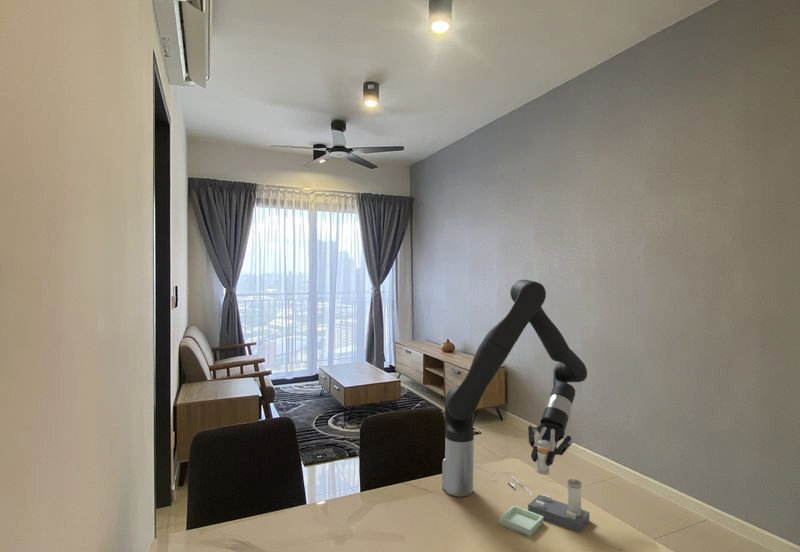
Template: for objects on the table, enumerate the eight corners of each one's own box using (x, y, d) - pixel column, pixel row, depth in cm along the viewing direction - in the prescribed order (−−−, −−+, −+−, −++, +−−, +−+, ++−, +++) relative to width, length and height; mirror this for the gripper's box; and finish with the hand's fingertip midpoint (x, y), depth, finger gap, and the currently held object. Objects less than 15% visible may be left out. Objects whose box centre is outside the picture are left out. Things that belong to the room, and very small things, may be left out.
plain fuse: (565, 514, 122) (565, 482, 122) (569, 509, 125) (570, 478, 125) (578, 518, 120) (578, 486, 120) (582, 513, 122) (583, 481, 123)
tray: (498, 524, 120) (498, 517, 120) (513, 511, 127) (513, 505, 127) (530, 537, 114) (530, 530, 114) (543, 523, 121) (543, 516, 122)
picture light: (533, 496, 138) (533, 490, 138) (521, 498, 137) (521, 491, 137) (512, 477, 151) (512, 471, 151) (501, 478, 150) (501, 472, 150)
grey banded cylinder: (534, 471, 128) (535, 441, 128) (539, 468, 131) (540, 438, 131) (546, 475, 126) (547, 445, 126) (550, 471, 129) (551, 441, 129)
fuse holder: (528, 513, 127) (528, 500, 127) (538, 502, 133) (539, 490, 133) (580, 532, 117) (580, 519, 117) (589, 520, 123) (589, 507, 123)
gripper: (532, 401, 139) (514, 449, 129) (577, 411, 130) (561, 463, 120) (538, 414, 143) (521, 461, 133) (582, 424, 134) (567, 476, 124)
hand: (540, 462), depth 127 cm, fingers closed on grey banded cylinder, 3 cm apart
